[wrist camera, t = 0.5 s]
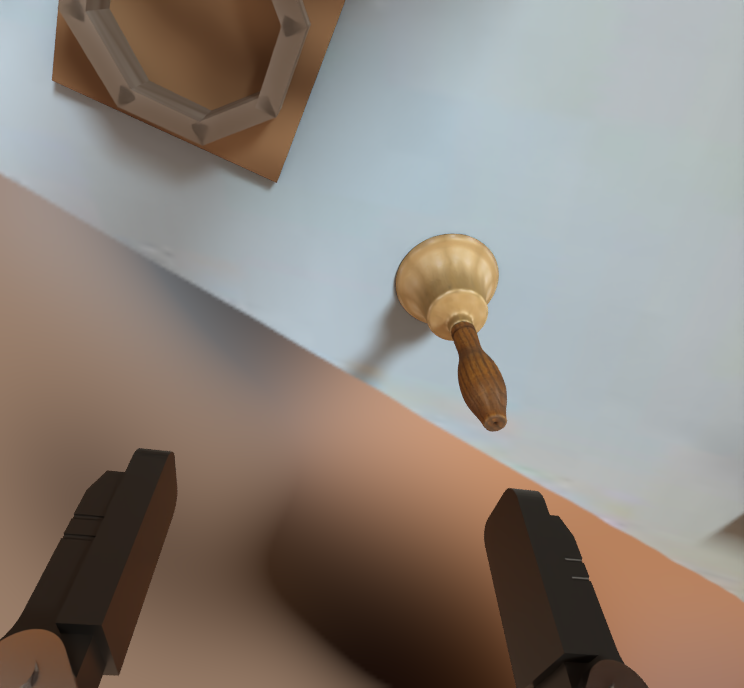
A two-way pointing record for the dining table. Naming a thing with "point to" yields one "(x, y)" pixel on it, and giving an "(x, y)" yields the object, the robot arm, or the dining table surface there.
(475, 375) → the hand bell
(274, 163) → the collar dock
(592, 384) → the dining table surface
